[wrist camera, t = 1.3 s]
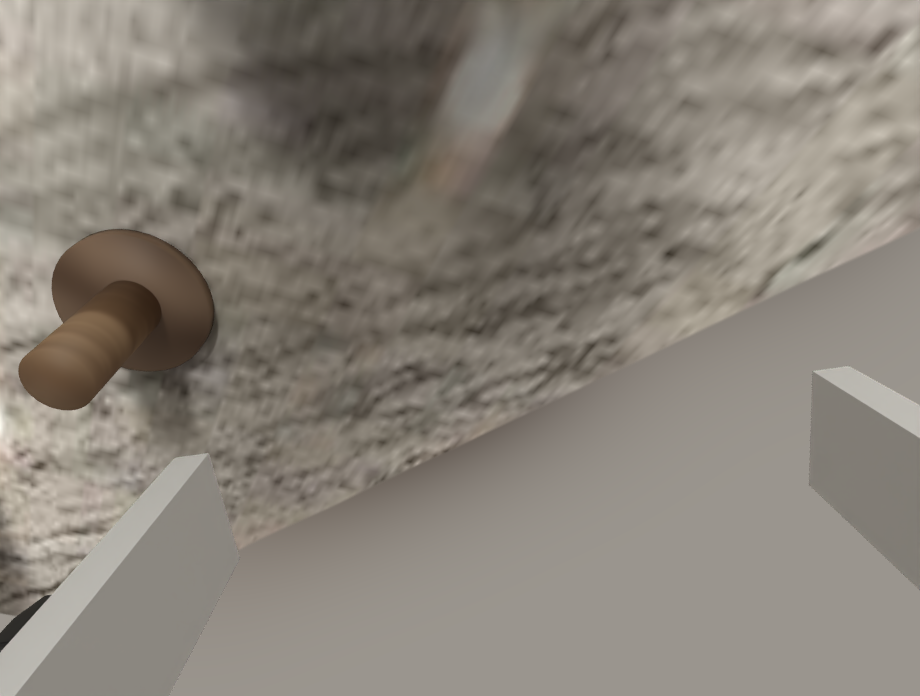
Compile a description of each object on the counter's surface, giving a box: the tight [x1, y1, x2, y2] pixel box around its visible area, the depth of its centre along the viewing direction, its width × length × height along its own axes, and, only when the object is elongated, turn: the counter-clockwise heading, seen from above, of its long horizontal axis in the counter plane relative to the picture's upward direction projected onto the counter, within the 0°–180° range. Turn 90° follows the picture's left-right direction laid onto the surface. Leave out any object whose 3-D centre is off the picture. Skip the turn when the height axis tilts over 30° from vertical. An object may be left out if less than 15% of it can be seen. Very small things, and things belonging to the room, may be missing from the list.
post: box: [19, 229, 214, 410], centre depth 34 cm, size 9×9×9 cm
